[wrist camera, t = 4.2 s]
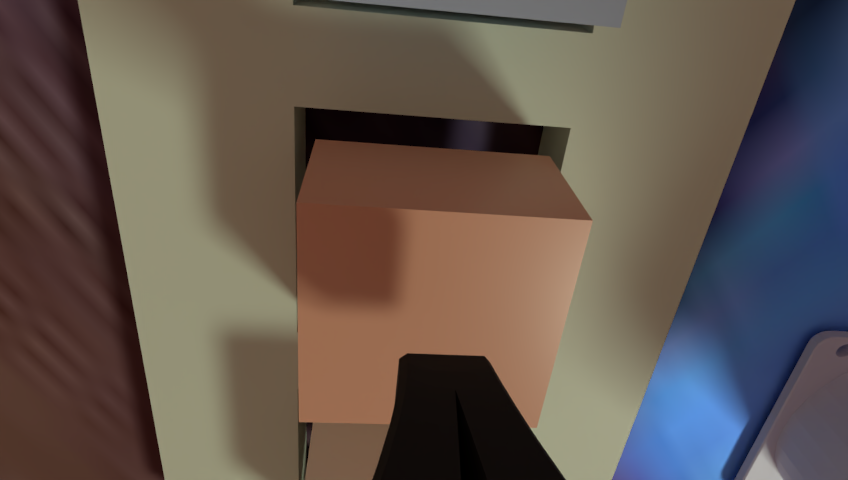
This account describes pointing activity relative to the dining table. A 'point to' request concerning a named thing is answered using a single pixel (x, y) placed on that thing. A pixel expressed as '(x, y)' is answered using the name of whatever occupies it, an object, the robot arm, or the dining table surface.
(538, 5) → the key slate
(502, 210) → the key terracotta
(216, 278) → the panel
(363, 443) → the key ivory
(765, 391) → the dining table surface
